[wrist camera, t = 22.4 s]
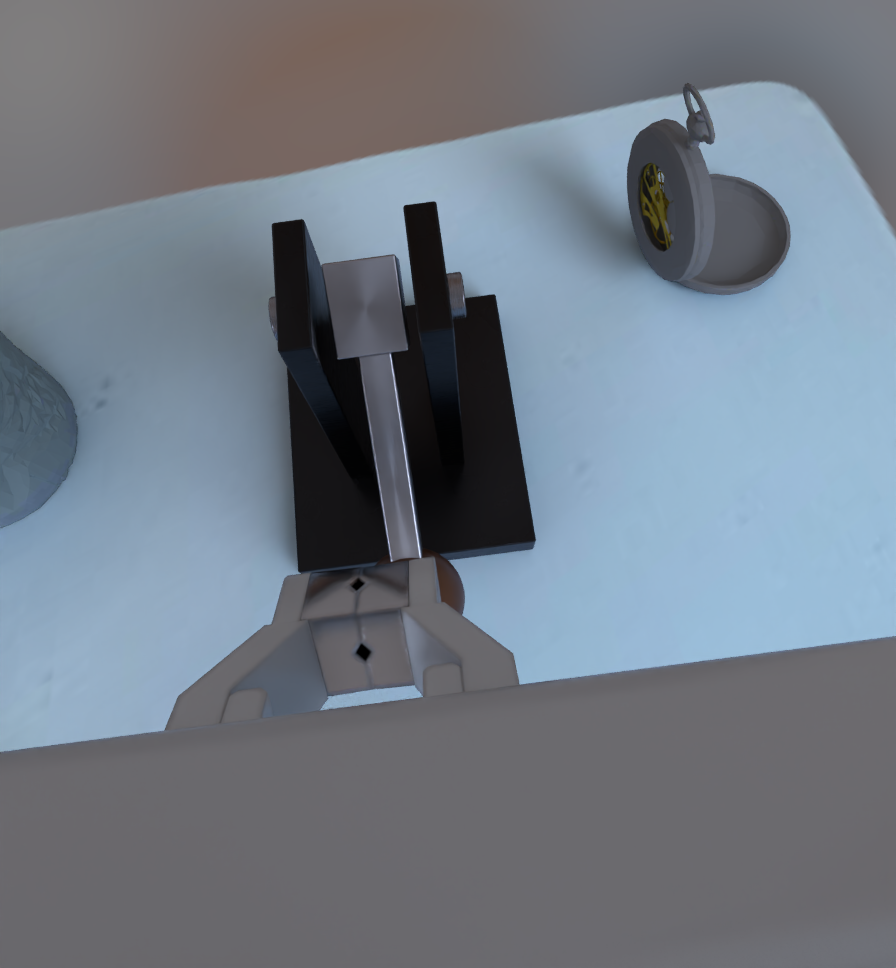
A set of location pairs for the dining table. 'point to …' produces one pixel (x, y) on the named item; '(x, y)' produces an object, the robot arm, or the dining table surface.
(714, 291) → the pocket watch
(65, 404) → the grey embossed pot
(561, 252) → the dining table surface
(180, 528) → the dining table surface
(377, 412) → the tap lever
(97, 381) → the dining table surface
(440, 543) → the black lever stand
